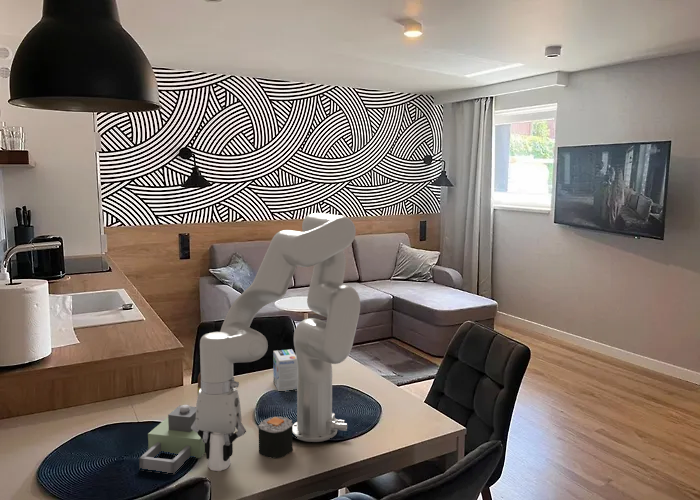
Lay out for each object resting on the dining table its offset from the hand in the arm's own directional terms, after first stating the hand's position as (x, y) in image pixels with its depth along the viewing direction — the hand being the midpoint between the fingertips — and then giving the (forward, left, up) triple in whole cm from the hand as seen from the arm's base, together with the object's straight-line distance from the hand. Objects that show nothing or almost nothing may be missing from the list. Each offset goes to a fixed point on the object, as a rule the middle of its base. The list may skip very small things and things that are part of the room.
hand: (218, 456), depth 133 cm
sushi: (-11, -10, -3) cm, 15 cm away
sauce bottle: (+13, -22, -2) cm, 26 cm away
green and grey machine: (+13, -3, -2) cm, 14 cm away
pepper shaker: (0, 0, -2) cm, 2 cm away
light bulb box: (0, -52, -3) cm, 52 cm away
